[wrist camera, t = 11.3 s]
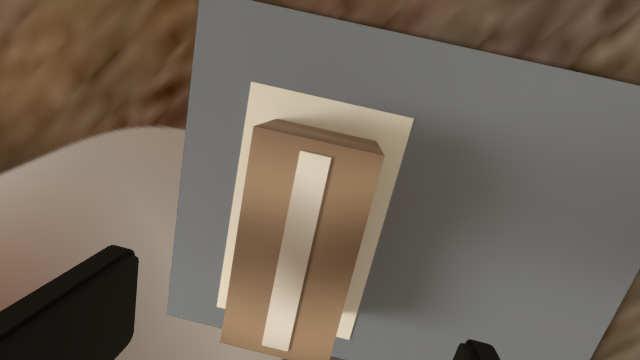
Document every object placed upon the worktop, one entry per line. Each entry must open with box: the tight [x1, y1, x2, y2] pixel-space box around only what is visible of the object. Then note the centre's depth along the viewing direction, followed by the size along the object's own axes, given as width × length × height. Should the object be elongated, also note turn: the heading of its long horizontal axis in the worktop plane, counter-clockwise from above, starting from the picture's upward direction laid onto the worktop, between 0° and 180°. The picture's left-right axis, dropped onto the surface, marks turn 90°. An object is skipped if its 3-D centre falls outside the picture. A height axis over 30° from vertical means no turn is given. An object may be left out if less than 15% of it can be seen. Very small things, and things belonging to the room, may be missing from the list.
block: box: [220, 119, 385, 360], centre depth 15 cm, size 10×5×4 cm, turn 168°
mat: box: [167, 0, 640, 360], centre depth 17 cm, size 24×18×1 cm
